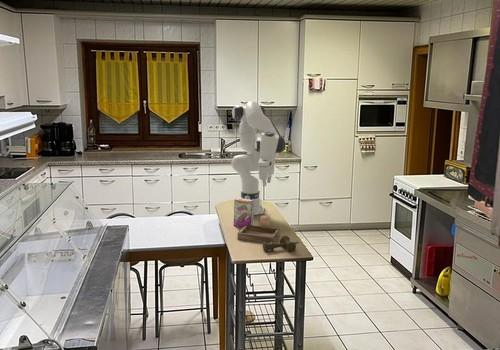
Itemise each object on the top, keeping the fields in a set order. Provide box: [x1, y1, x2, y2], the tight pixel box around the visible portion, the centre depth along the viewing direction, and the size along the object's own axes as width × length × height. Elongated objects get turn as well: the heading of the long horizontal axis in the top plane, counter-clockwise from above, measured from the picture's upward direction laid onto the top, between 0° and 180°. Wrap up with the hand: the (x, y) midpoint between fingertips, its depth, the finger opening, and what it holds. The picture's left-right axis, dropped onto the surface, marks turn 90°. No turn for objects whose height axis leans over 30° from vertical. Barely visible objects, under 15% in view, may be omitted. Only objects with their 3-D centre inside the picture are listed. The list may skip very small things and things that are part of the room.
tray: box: [236, 224, 281, 244], centre depth 251 cm, size 16×20×4 cm
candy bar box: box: [233, 197, 255, 228], centre depth 268 cm, size 11×5×16 cm, turn 71°
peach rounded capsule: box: [259, 214, 271, 228], centre depth 263 cm, size 6×6×8 cm
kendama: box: [262, 235, 300, 253], centre depth 233 cm, size 6×10×20 cm
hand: (266, 184), depth 258 cm, fingers open, 8 cm apart
